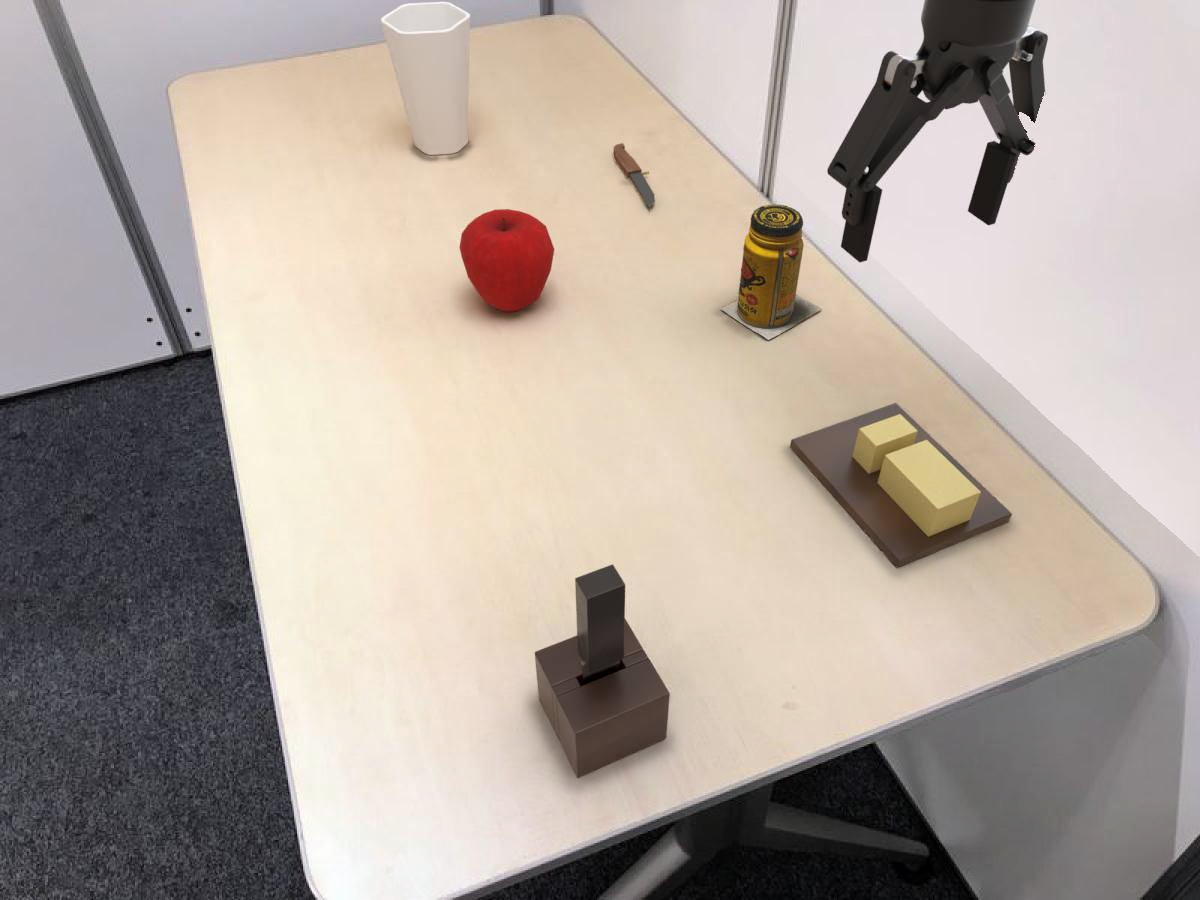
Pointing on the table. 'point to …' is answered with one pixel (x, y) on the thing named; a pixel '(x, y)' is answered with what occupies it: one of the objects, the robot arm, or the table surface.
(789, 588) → the table surface
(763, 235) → the condiment
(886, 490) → the butter block
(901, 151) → the robot arm
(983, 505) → the butter board
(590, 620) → the butter knife
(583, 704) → the knife block
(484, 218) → the apple
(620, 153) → the knife
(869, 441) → the butter slice
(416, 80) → the cup
